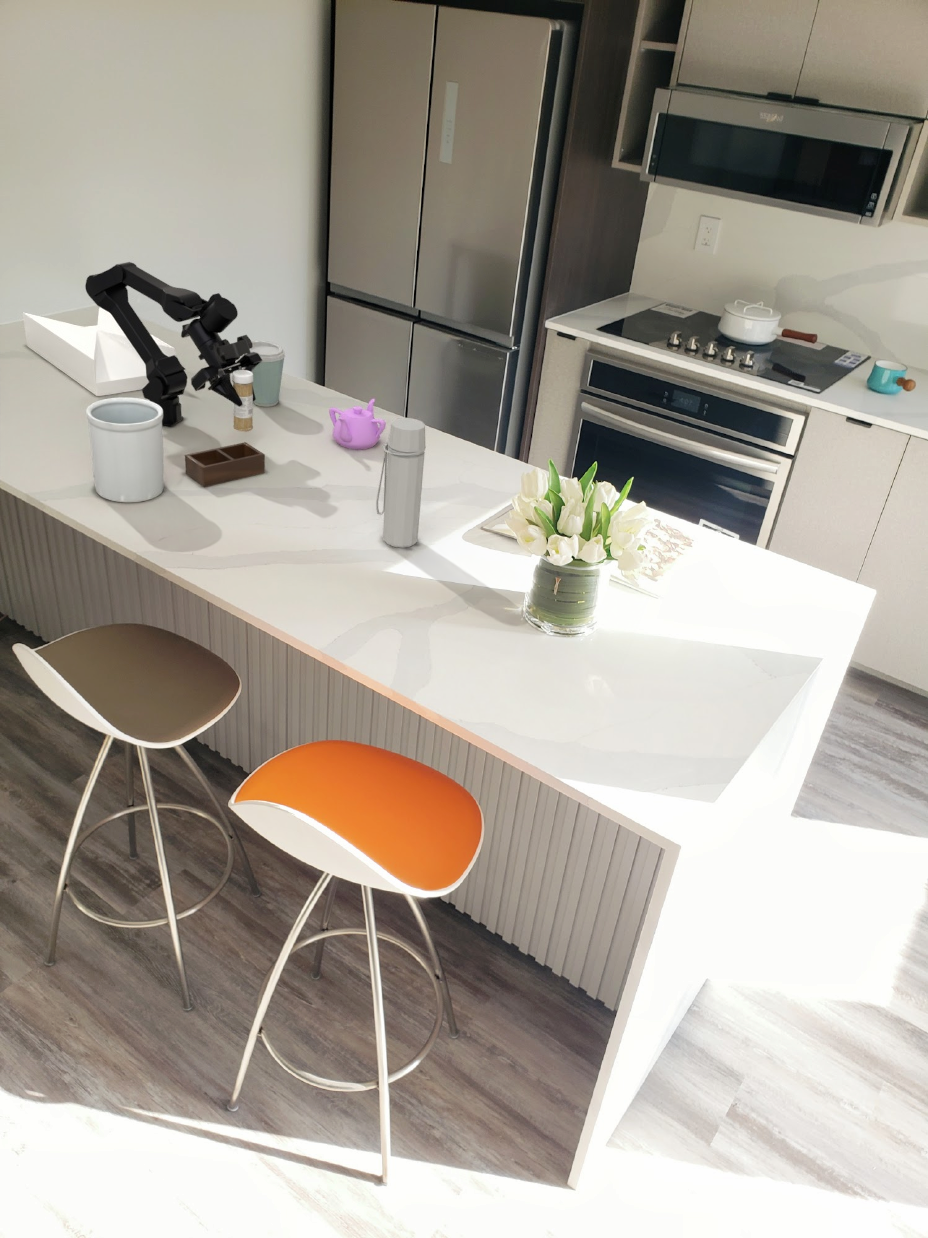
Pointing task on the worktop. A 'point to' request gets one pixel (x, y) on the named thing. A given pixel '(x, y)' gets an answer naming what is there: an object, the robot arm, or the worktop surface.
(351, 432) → the teapot
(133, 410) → the utensil holder
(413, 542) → the water bottle
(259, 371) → the disposable coffee cup
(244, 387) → the sprinkles bottle
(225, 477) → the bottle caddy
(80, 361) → the white shallow tray
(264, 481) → the worktop surface
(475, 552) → the worktop surface
